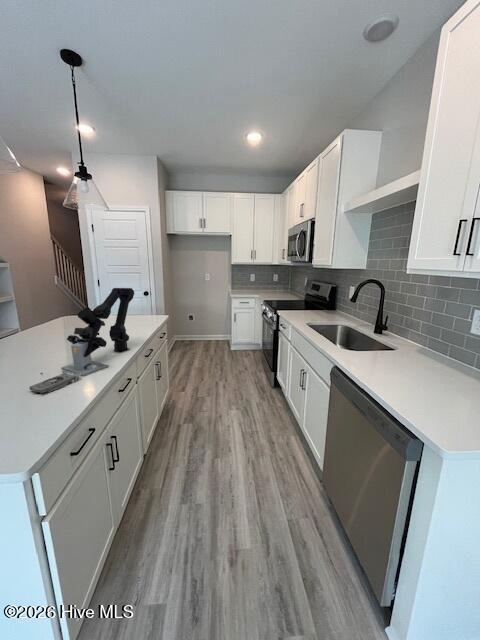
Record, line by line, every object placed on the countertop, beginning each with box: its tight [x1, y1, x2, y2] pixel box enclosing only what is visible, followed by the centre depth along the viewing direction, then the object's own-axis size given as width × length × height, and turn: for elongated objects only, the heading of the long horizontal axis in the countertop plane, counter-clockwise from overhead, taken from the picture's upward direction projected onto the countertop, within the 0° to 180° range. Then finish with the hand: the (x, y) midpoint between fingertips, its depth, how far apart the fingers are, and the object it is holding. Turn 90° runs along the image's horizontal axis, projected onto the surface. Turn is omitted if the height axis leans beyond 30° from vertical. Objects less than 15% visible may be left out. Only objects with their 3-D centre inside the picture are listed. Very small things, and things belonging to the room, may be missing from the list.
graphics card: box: [29, 370, 82, 394], centre depth 113 cm, size 17×4×12 cm
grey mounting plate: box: [60, 359, 109, 378], centre depth 131 cm, size 13×18×2 cm
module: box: [70, 342, 92, 371], centre depth 127 cm, size 6×5×12 cm
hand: (79, 356), depth 126 cm, fingers open, 6 cm apart
